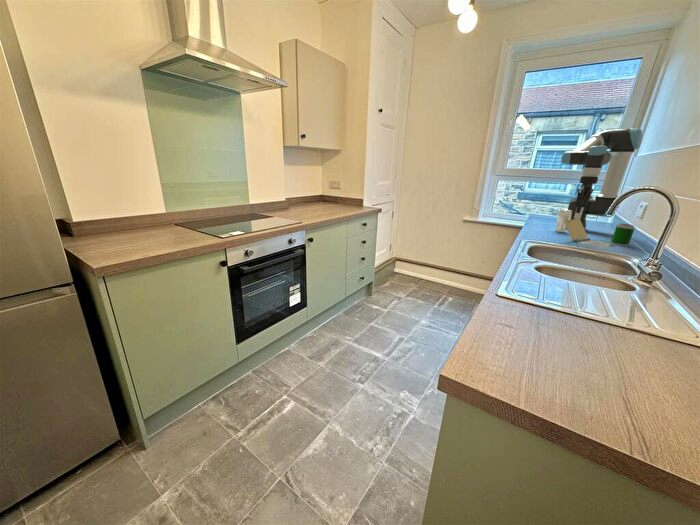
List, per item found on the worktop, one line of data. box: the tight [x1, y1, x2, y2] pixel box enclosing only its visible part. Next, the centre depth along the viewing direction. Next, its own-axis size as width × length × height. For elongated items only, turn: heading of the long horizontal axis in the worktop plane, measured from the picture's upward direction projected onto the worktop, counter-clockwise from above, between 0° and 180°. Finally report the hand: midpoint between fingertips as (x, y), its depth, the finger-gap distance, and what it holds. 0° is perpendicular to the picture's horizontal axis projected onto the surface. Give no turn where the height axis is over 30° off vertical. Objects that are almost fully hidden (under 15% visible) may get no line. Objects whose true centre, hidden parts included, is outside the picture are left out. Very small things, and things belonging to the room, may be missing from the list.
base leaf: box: [578, 238, 618, 249], centre depth 157 cm, size 16×14×2 cm
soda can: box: [610, 223, 635, 246], centre depth 158 cm, size 8×8×12 cm
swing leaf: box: [564, 219, 591, 244], centre depth 163 cm, size 16×14×2 cm
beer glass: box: [554, 208, 572, 233], centre depth 185 cm, size 7×7×15 cm
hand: (577, 218), depth 164 cm, fingers closed
